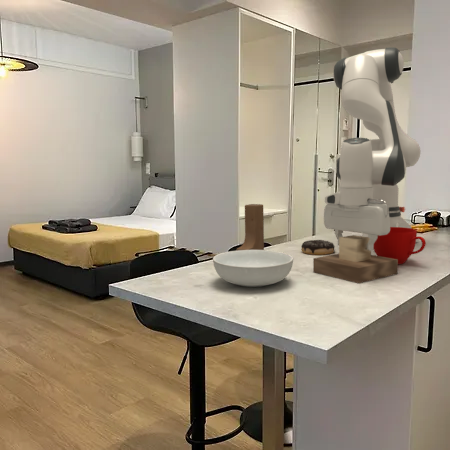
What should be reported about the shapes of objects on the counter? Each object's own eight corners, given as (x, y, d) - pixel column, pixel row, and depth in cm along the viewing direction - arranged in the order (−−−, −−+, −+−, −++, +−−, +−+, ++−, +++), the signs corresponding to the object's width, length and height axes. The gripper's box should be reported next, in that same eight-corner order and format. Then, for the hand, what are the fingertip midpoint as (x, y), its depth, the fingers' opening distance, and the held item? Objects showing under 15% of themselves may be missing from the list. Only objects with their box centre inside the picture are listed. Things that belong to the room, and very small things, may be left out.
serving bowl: (207, 293, 109) (206, 265, 108) (219, 272, 130) (219, 249, 129) (293, 294, 106) (293, 266, 105) (292, 273, 127) (292, 249, 126)
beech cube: (353, 255, 129) (353, 235, 128) (370, 259, 124) (371, 237, 123) (339, 258, 126) (339, 237, 125) (356, 262, 121) (356, 240, 120)
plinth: (351, 264, 136) (351, 251, 136) (397, 273, 123) (397, 259, 123) (313, 272, 127) (313, 258, 127) (358, 283, 114) (359, 268, 114)
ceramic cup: (410, 271, 126) (411, 235, 125) (361, 261, 140) (362, 229, 139) (437, 264, 133) (438, 231, 132) (388, 256, 147) (389, 225, 146)
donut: (294, 253, 157) (294, 241, 157) (316, 248, 165) (316, 237, 164) (320, 257, 149) (320, 245, 148) (341, 252, 156) (342, 241, 156)
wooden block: (247, 264, 140) (246, 206, 138) (236, 262, 143) (235, 206, 141) (264, 259, 147) (263, 204, 144) (253, 257, 150) (252, 203, 147)
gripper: (396, 199, 116) (394, 251, 118) (335, 195, 133) (335, 242, 134) (380, 200, 112) (379, 254, 114) (320, 197, 129) (320, 244, 131)
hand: (355, 247), depth 124 cm, fingers open, 8 cm apart
